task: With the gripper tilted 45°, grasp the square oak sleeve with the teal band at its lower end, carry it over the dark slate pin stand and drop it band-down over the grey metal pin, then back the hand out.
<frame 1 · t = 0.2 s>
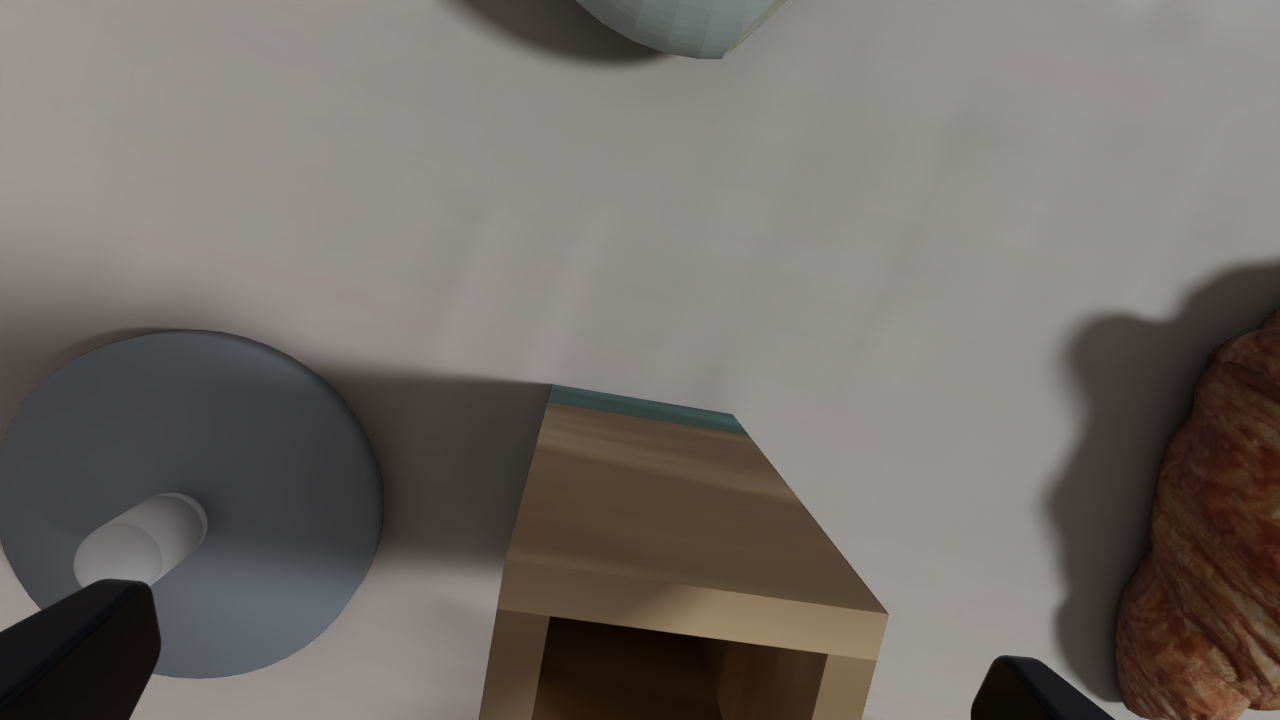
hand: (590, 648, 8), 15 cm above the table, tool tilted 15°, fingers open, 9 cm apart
banded sleeve: (627, 486, 24), on the table
pin stand: (208, 500, 23), on the table
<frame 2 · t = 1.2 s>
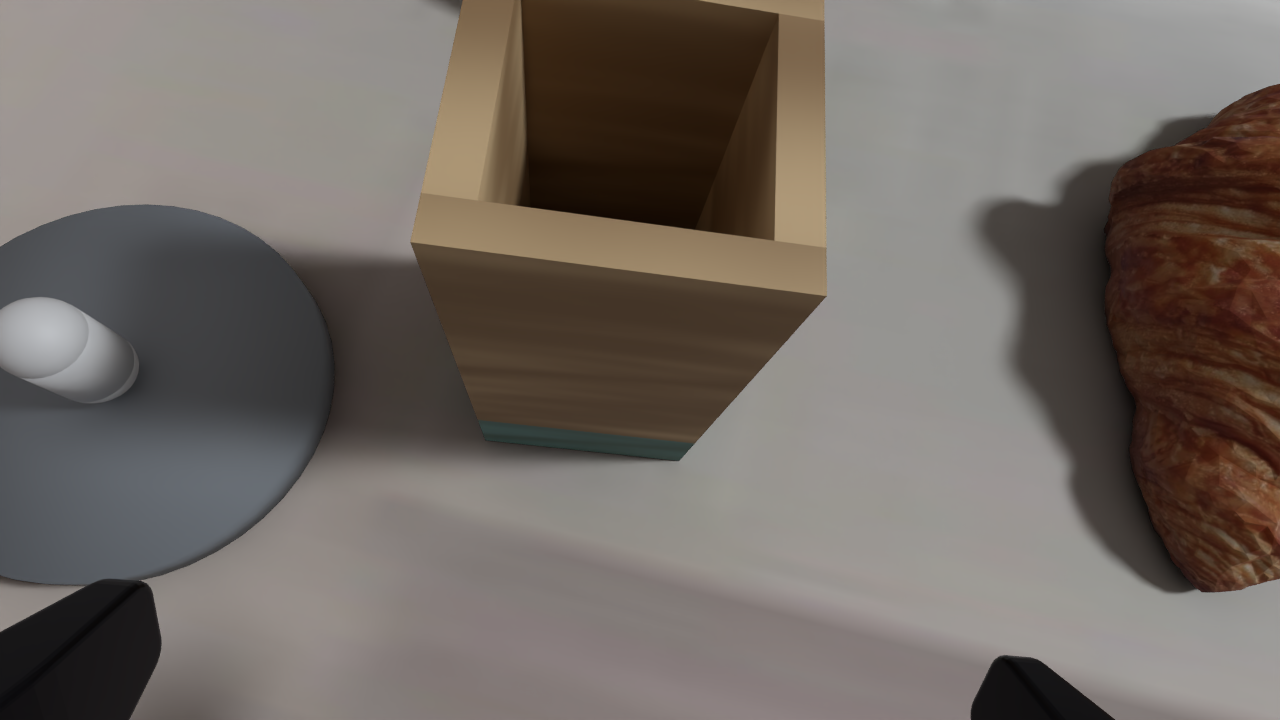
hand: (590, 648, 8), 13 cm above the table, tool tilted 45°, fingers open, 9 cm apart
banded sleeve: (593, 359, 23), on the table
pastry: (1224, 324, 27), on the table
pin stand: (138, 389, 21), on the table
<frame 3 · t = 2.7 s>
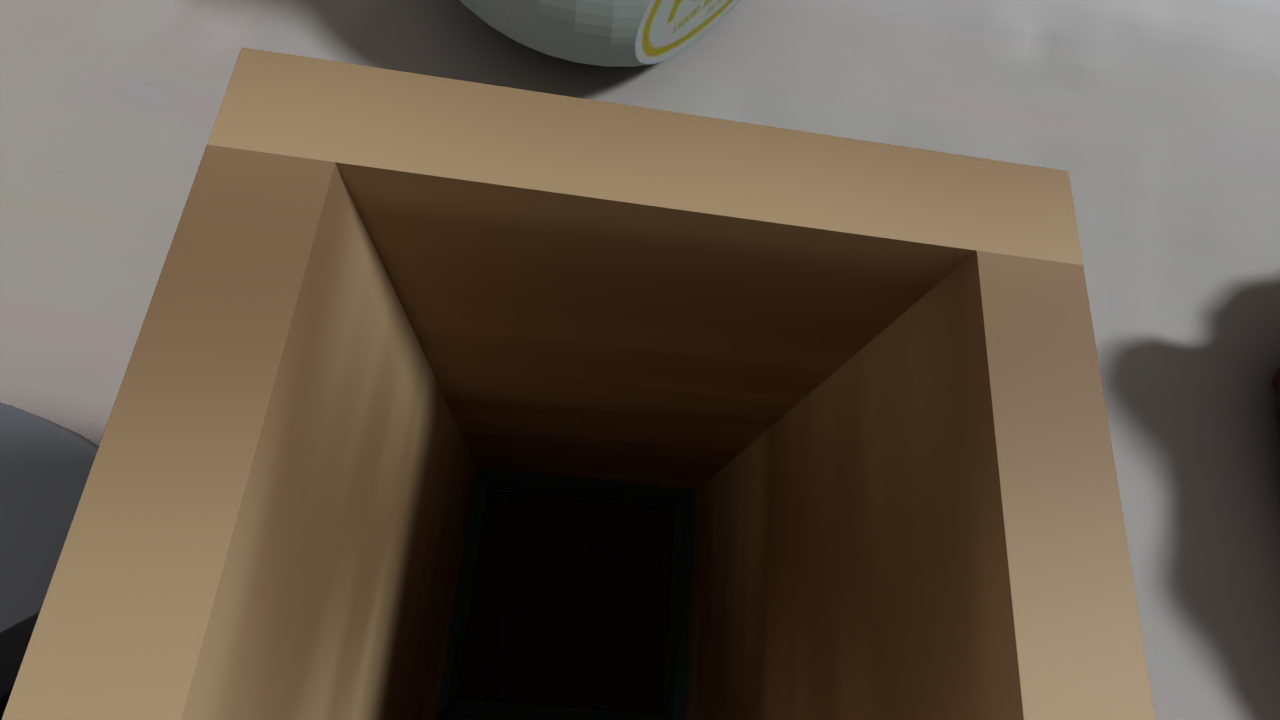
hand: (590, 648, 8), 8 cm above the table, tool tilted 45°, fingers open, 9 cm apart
banded sleeve: (571, 598, 16), on the table
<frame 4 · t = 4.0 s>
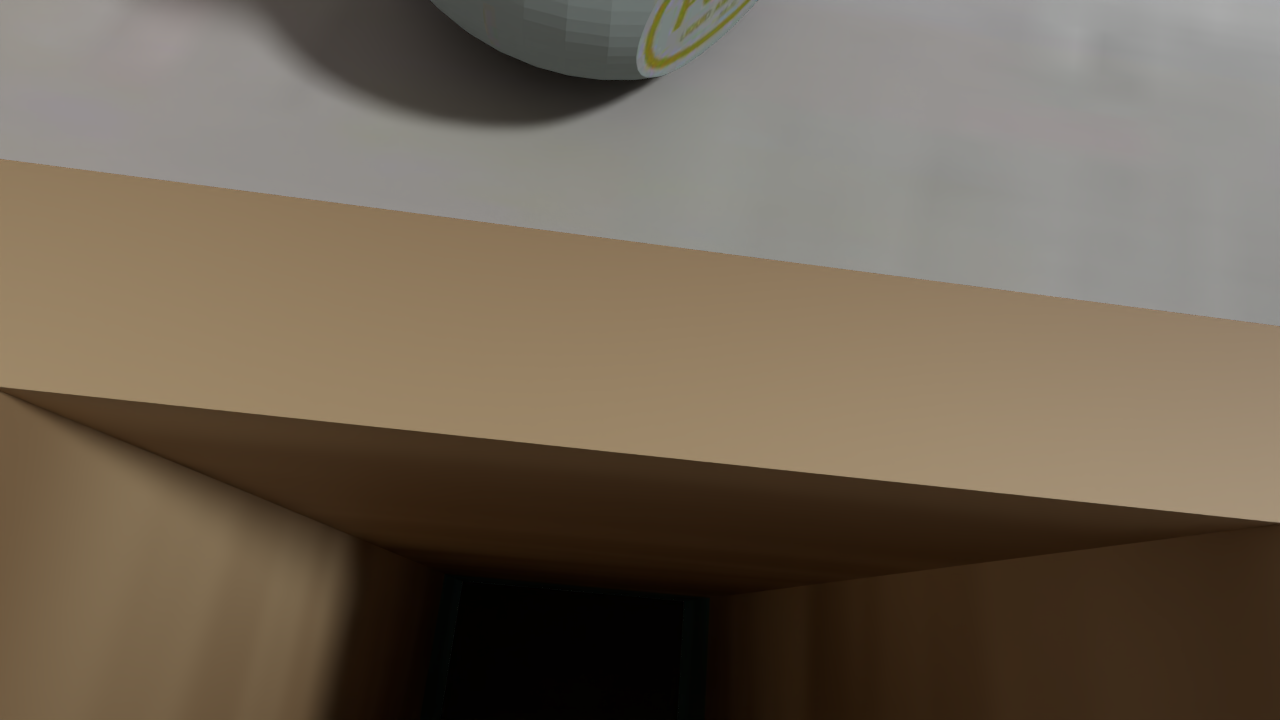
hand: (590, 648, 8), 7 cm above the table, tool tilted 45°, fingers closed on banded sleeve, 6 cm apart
banded sleeve: (561, 714, 13), on the table, touching gripper
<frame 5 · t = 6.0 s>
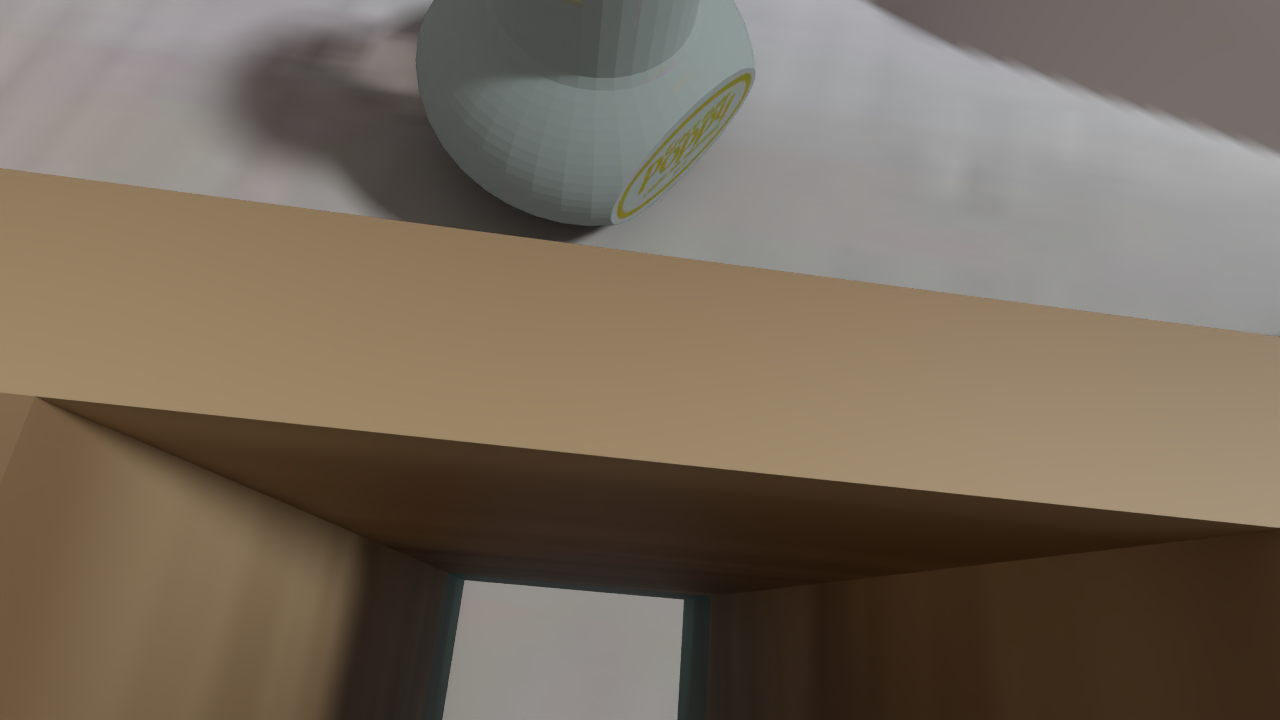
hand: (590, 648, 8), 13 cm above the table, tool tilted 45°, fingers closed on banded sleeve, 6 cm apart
banded sleeve: (562, 711, 13), point 7 cm above the table, touching gripper
air freshener: (585, 131, 26), on the table
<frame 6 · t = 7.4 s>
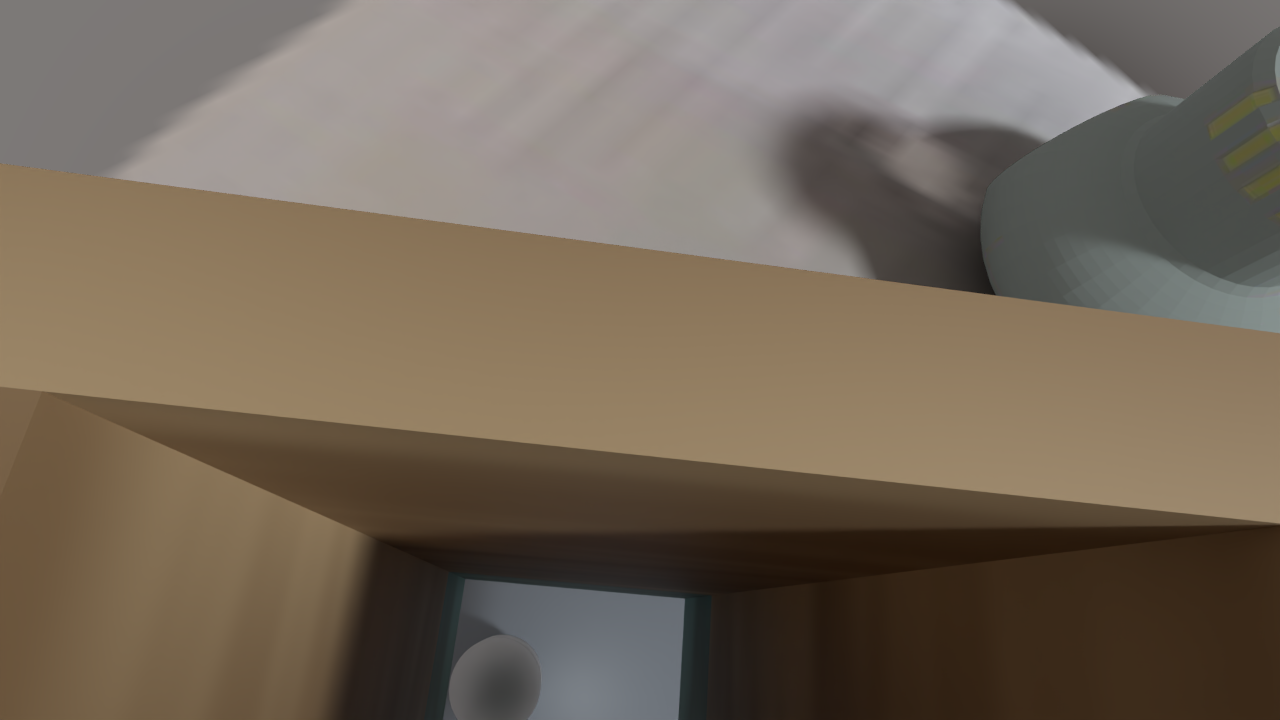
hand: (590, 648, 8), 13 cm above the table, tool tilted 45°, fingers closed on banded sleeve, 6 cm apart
banded sleeve: (563, 710, 13), point 7 cm above the table, touching gripper
air freshener: (1079, 286, 27), on the table
pin stand: (506, 670, 20), on the table
when the fingers open (9 cm above the table, at t = 10.2 s): banded sleeve stays where it is, resting on pin stand.
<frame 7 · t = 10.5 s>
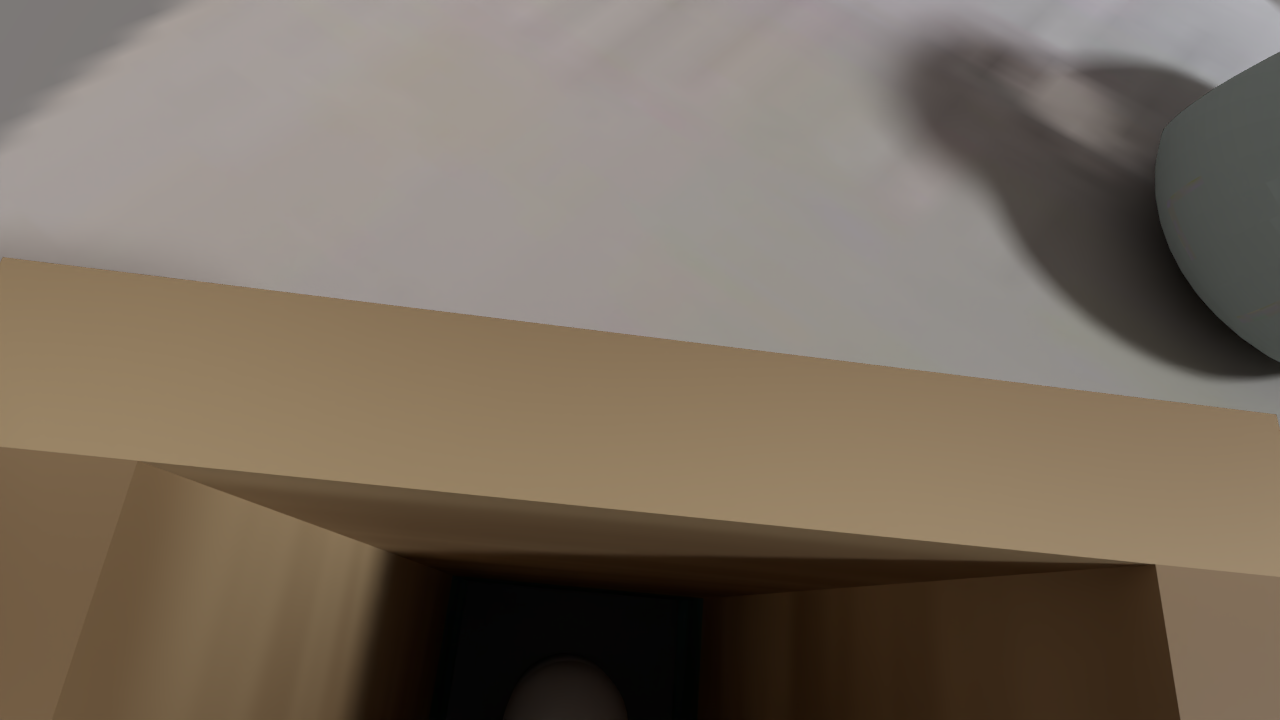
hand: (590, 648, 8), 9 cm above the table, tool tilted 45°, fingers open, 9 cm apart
banded sleeve: (562, 707, 14), point 1 cm above the table, touching pin stand
air freshener: (1259, 256, 22), on the table
pin stand: (560, 698, 15), on the table
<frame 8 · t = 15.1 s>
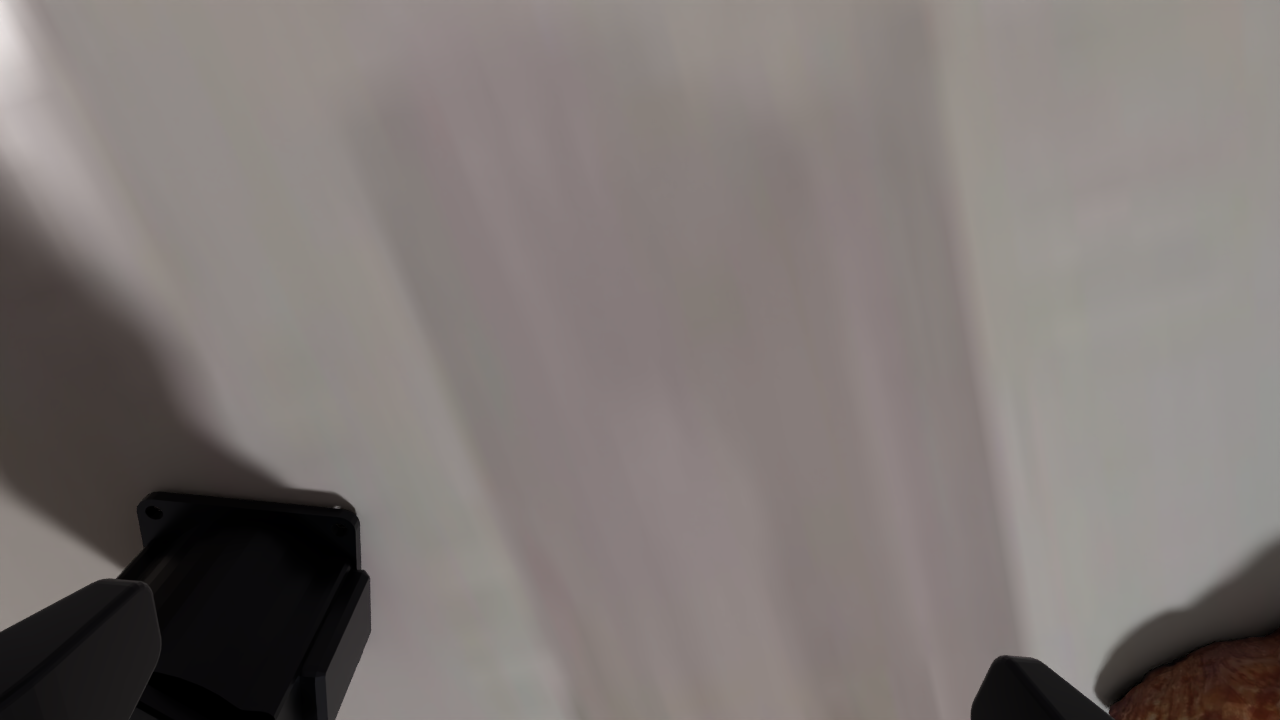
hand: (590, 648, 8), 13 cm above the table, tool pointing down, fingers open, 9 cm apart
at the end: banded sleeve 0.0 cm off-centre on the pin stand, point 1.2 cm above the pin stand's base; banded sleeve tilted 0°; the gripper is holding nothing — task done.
